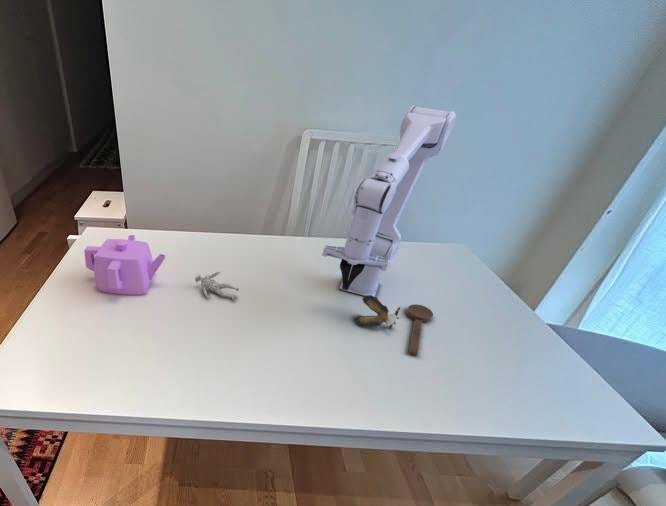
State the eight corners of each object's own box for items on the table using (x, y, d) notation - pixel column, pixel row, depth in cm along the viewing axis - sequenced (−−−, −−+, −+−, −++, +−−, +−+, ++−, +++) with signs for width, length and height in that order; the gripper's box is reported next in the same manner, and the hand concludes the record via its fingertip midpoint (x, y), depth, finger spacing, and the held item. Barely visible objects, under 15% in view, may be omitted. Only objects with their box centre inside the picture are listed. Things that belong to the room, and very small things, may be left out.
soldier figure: (228, 308, 101) (188, 287, 102) (227, 310, 106) (189, 290, 107) (242, 282, 101) (201, 261, 102) (241, 285, 106) (202, 265, 106)
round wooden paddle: (426, 359, 87) (428, 354, 86) (398, 350, 89) (400, 346, 88) (431, 312, 101) (433, 308, 100) (407, 306, 103) (409, 301, 102)
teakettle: (85, 279, 109) (76, 238, 100) (137, 261, 117) (133, 222, 109) (114, 307, 99) (107, 265, 91) (169, 285, 107) (167, 245, 99)
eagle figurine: (393, 312, 99) (359, 299, 100) (407, 302, 92) (370, 288, 93) (384, 338, 97) (350, 325, 98) (397, 330, 90) (360, 316, 91)
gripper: (324, 236, 85) (312, 287, 94) (393, 251, 81) (373, 304, 90) (332, 224, 90) (319, 274, 99) (397, 238, 86) (377, 289, 95)
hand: (345, 287), depth 95 cm, fingers closed
